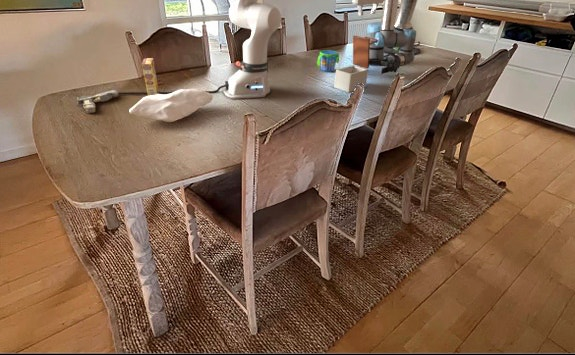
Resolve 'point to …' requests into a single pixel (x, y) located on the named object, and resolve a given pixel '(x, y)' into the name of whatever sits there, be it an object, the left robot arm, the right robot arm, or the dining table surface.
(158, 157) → the dining table surface
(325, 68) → the snack cup
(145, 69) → the candy box
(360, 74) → the chest
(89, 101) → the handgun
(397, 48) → the grey round tray
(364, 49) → the lid
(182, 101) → the crumpled cloth
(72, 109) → the dining table surface
